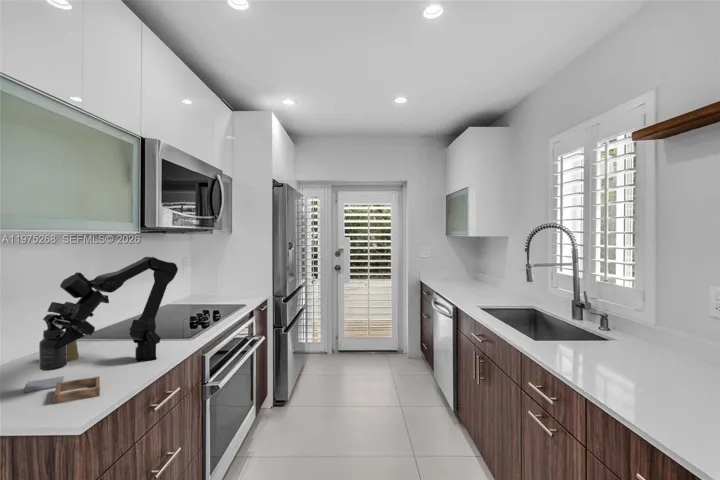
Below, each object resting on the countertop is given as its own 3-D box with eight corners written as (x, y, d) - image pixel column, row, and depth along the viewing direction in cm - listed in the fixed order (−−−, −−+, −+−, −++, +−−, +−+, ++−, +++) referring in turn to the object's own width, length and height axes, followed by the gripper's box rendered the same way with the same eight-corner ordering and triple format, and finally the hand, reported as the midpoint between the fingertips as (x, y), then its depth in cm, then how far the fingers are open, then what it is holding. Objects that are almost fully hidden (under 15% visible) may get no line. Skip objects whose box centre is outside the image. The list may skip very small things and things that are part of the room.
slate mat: (63, 377, 131) (63, 376, 131) (61, 386, 124) (61, 385, 124) (28, 383, 126) (28, 381, 126) (24, 392, 119) (24, 391, 119)
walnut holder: (99, 383, 127) (99, 376, 127) (99, 395, 118) (99, 387, 118) (56, 390, 121) (56, 382, 121) (53, 403, 112) (53, 395, 112)
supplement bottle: (72, 365, 125) (72, 328, 124) (49, 372, 118) (49, 333, 118) (56, 363, 127) (56, 326, 126) (33, 370, 120) (33, 331, 120)
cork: (68, 362, 146) (68, 333, 146) (55, 360, 148) (55, 332, 147) (82, 357, 152) (83, 329, 152) (70, 356, 154) (70, 328, 153)
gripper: (49, 289, 129) (9, 330, 119) (85, 294, 122) (44, 337, 112) (75, 308, 137) (38, 348, 127) (109, 314, 129) (74, 357, 119)
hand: (48, 347), depth 121 cm, fingers closed on supplement bottle, 7 cm apart
